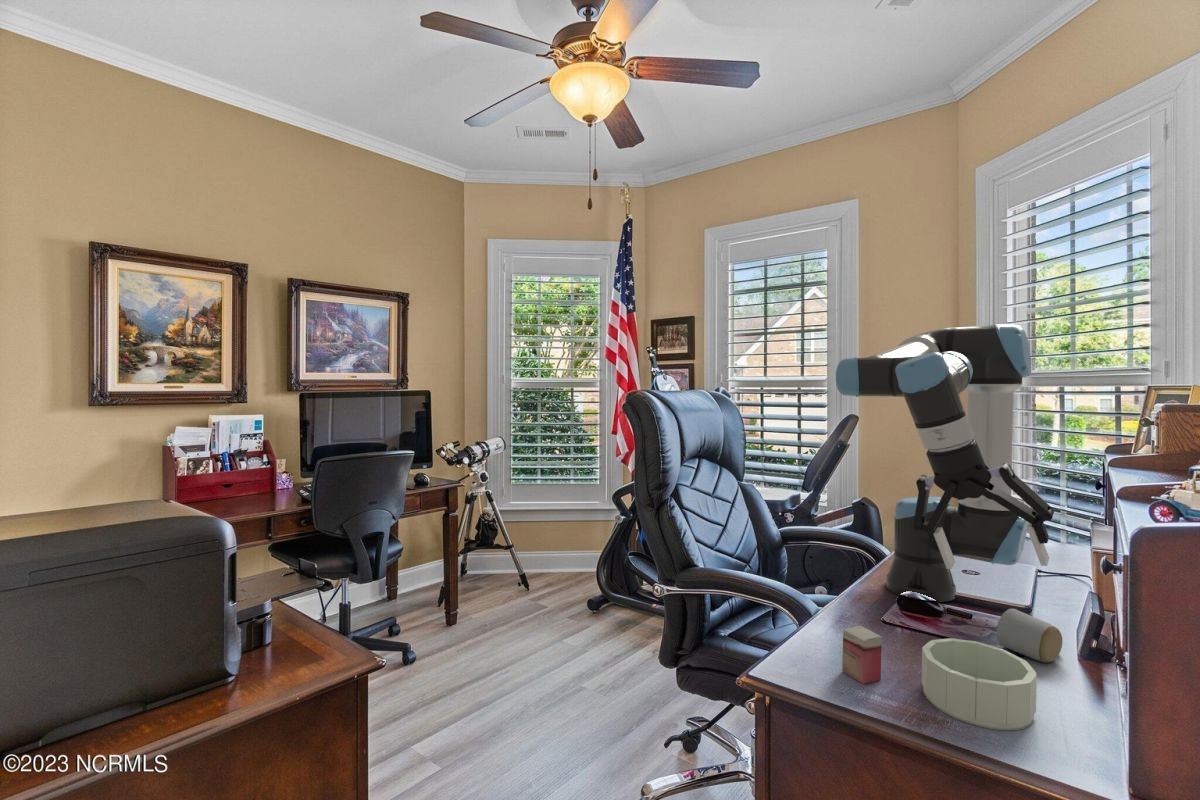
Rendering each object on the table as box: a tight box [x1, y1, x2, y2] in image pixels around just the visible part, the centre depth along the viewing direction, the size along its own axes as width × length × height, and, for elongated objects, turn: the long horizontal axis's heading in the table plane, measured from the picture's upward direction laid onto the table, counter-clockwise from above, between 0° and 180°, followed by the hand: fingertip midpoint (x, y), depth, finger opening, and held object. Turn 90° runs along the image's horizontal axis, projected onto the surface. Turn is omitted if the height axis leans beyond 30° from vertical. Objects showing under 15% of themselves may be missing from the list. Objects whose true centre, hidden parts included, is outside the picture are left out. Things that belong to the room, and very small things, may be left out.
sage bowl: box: [921, 637, 1038, 732], centre depth 92 cm, size 15×15×7 cm
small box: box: [841, 625, 883, 685], centre depth 101 cm, size 5×4×8 cm
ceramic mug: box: [996, 608, 1063, 664], centre depth 109 cm, size 11×8×8 cm
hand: (995, 563), depth 94 cm, fingers open, 13 cm apart
